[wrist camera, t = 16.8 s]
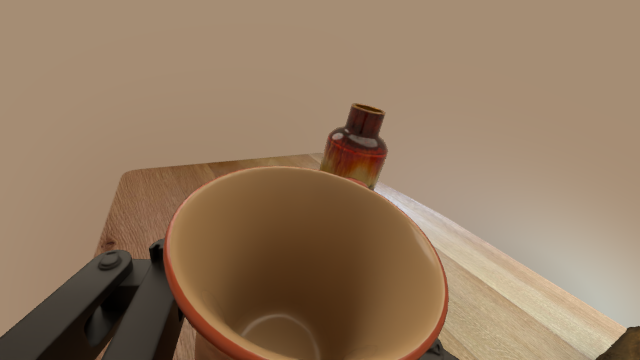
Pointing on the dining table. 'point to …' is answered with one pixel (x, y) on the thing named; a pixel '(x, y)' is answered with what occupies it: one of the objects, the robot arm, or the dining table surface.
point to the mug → (302, 270)
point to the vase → (357, 146)
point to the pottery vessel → (624, 346)
